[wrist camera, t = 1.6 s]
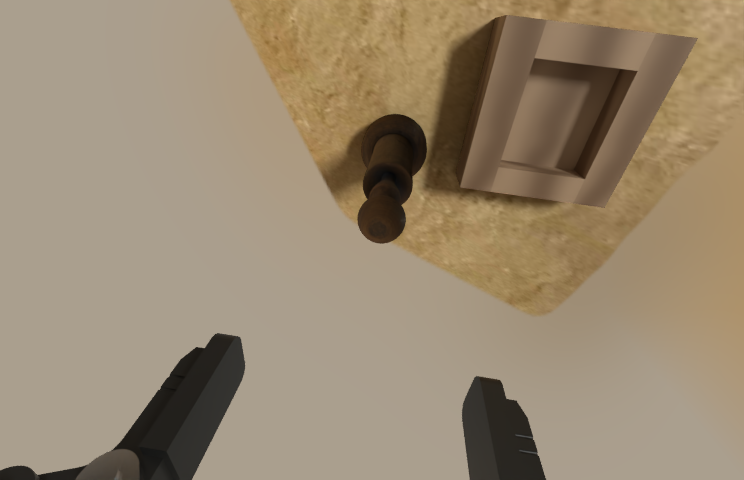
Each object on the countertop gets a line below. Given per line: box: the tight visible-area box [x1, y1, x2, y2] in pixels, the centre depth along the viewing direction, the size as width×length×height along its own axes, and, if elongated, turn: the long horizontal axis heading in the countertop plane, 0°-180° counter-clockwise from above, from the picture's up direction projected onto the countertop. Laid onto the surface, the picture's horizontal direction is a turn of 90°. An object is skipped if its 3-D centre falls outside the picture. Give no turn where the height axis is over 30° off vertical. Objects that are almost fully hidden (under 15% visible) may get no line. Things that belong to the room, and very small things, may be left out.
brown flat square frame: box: [456, 15, 698, 208], centre depth 30 cm, size 14×14×4 cm
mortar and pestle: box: [358, 114, 427, 243], centre depth 27 cm, size 7×6×18 cm
